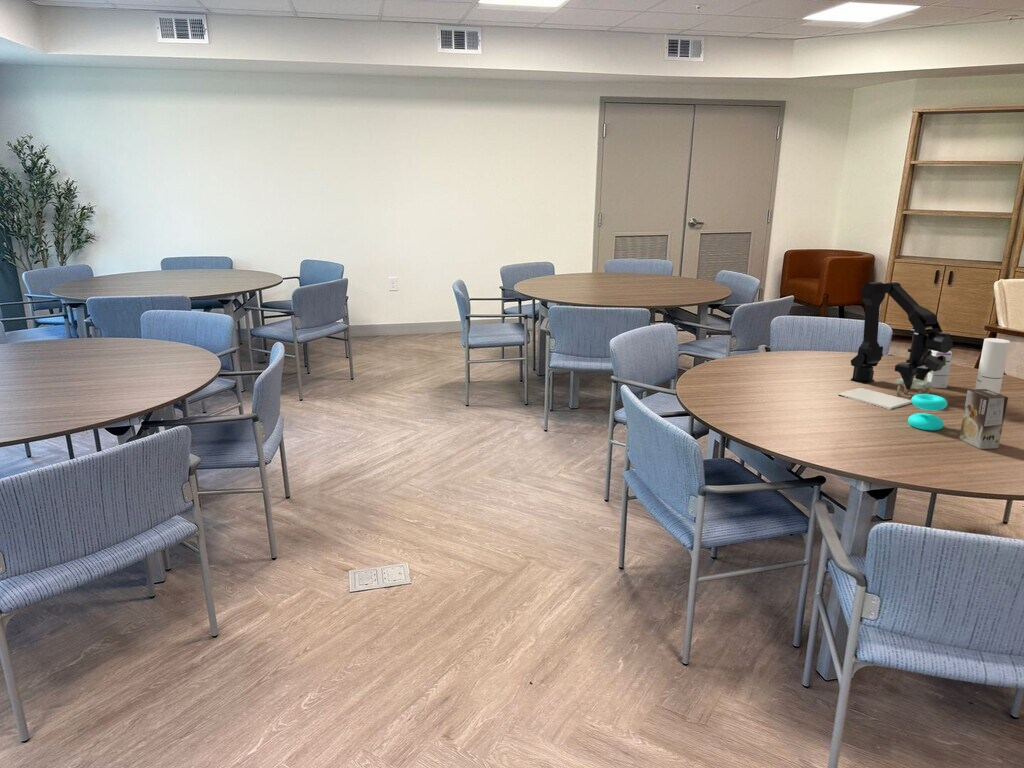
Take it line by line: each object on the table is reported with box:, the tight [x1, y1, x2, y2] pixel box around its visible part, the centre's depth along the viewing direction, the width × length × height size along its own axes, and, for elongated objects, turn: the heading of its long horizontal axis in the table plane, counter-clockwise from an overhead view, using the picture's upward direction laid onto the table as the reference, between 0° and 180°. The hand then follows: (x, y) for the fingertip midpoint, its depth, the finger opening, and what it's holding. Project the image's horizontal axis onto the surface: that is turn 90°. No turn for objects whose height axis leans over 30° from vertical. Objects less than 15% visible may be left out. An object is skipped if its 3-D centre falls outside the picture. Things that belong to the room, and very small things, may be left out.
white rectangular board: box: [837, 387, 913, 410], centre depth 248 cm, size 20×14×1 cm
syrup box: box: [926, 350, 953, 389], centre depth 261 cm, size 6×6×14 cm
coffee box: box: [959, 388, 1009, 450], centre depth 203 cm, size 9×6×16 cm
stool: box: [895, 377, 933, 396], centre depth 249 cm, size 10×6×6 cm, turn 31°
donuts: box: [907, 393, 948, 431], centre depth 218 cm, size 10×10×10 cm
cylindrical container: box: [974, 337, 1011, 394], centre depth 231 cm, size 7×7×25 cm
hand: (913, 388), depth 249 cm, fingers closed on stool, 6 cm apart
